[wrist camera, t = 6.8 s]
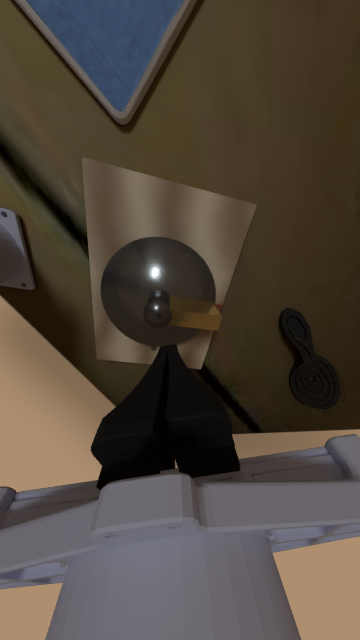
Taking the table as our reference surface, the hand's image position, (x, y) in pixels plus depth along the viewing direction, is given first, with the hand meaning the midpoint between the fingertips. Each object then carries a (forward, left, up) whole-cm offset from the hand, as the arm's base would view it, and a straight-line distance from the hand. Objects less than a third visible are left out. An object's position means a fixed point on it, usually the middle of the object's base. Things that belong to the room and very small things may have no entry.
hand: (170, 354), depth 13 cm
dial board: (-1, +2, -9) cm, 10 cm away
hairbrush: (+26, -6, -10) cm, 28 cm away
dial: (-1, +2, -8) cm, 8 cm away
